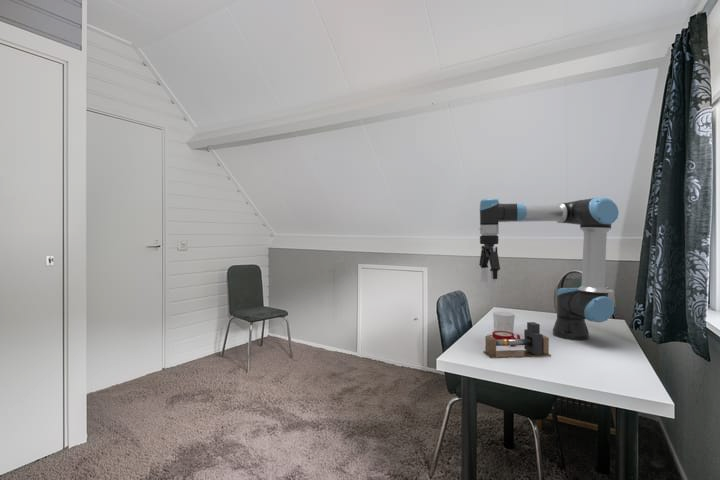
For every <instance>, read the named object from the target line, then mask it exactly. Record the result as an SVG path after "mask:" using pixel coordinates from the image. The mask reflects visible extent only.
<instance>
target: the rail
mask: <svg viewBox="0 0 720 480" xmlns="http://www.w3.org/2000/svg"><path fill="white" fill-rule="evenodd" d="M542 335H543V339H542V355H535V354H533V353H531V352H529V351H528V350H526V349H513V350H512V349H511V350H510V349H509V350H497V347H500V346H501V347H509V346H510V345H516V346H524V345H532V339H524V338H520V339H517V338H516V339H502V340H496V339H495V338H493V337H492V336H490V335H488V336H487V335H485V336H484V337H485V339H484V340H485V341H484V342H485V343H484V345H485V346H484V347H485V349H484V350H483V354H484V355H485V356H487V357H489V358H490V359H511V358H513V359H514V358H536V357H537V358H540V357H541V358H542V357H545V358H546V357H552V354H550V352H549V350H550V349H549V348H550V345H549V344H550V338H549V337H548V336H546V335H544V334H542Z"/></svg>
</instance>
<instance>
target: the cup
mask: <svg viewBox="0 0 720 480" xmlns="http://www.w3.org/2000/svg"><path fill="white" fill-rule="evenodd" d="M515 315H516V313H514V312H512V311H511V312H510V311H505V310H503V311H502V310H501V311H500V310H499V311H498V310H495V311H493V312H492V318H493V319H492V320H493V332H494V331H507V332H511V333H513V334H514V328H515V327H514V326H515Z"/></svg>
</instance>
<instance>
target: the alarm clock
mask: <svg viewBox="0 0 720 480" xmlns="http://www.w3.org/2000/svg"><path fill="white" fill-rule="evenodd" d="M486 336H492V337H493V338H495V339H496V340H502V339H521V335H520V334H518V333H516V337H515V334H514V332H513V333H511V332H507V331H494V330H493V331H492V333H491V334H487V335H486ZM509 346H510V347H516V346H517V345H509Z"/></svg>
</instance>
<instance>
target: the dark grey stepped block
mask: <svg viewBox="0 0 720 480" xmlns="http://www.w3.org/2000/svg"><path fill="white" fill-rule="evenodd" d="M540 325H541V324H539V323H536V322H535V321H533V322H532V321H531V322H529V321H527V322H526V329H524V334H523V335H524V338H523V339H532V345H523V347H524V349H523V350H528V351H529V352H531V353H533V354H535V355H542V339H543V335H544V334H542V333H540V332H541V331H540V327H541V326H540Z"/></svg>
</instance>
